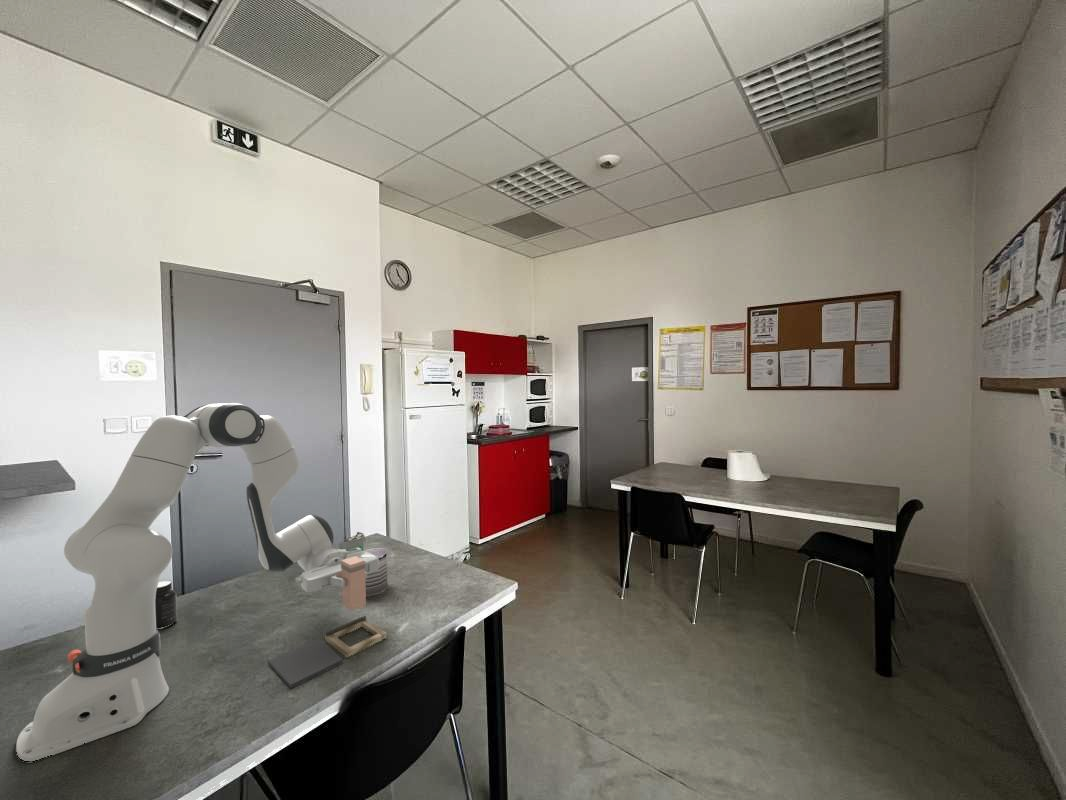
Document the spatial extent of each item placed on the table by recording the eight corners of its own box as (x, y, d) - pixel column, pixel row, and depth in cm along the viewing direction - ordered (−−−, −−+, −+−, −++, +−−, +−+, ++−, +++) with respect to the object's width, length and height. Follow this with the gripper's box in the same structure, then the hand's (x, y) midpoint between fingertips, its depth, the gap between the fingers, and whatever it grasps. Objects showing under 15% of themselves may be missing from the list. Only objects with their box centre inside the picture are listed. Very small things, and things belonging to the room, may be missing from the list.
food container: (354, 569, 165) (353, 543, 164) (339, 568, 166) (338, 542, 165) (372, 557, 177) (371, 532, 176) (358, 556, 178) (357, 531, 178)
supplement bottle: (140, 630, 126) (138, 588, 125) (165, 617, 132) (163, 577, 132) (159, 632, 124) (157, 590, 124) (183, 620, 131) (181, 579, 130)
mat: (290, 688, 100) (290, 684, 100) (268, 663, 109) (267, 660, 109) (342, 662, 109) (342, 659, 109) (317, 641, 118) (317, 638, 118)
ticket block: (351, 611, 115) (350, 565, 115) (342, 604, 118) (340, 560, 118) (366, 605, 118) (365, 560, 118) (356, 599, 121) (355, 555, 121)
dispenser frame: (346, 658, 111) (346, 648, 111) (325, 640, 119) (325, 631, 118) (386, 638, 119) (386, 629, 119) (364, 623, 127) (363, 614, 127)
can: (381, 596, 143) (380, 559, 143) (346, 597, 143) (345, 560, 143) (392, 580, 154) (391, 546, 154) (360, 581, 154) (358, 547, 154)
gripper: (292, 566, 119) (314, 581, 110) (364, 545, 134) (389, 556, 125) (292, 590, 119) (315, 606, 110) (364, 566, 134) (389, 578, 125)
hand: (355, 579), depth 117 cm, fingers closed on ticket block, 4 cm apart
